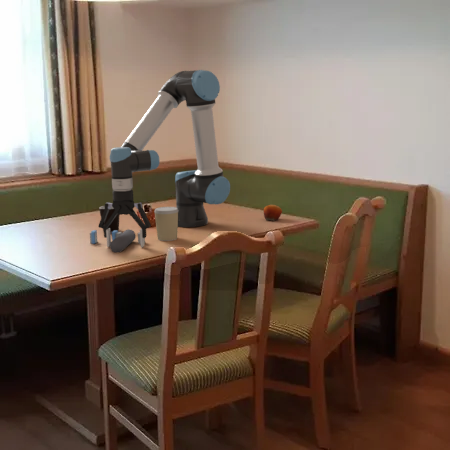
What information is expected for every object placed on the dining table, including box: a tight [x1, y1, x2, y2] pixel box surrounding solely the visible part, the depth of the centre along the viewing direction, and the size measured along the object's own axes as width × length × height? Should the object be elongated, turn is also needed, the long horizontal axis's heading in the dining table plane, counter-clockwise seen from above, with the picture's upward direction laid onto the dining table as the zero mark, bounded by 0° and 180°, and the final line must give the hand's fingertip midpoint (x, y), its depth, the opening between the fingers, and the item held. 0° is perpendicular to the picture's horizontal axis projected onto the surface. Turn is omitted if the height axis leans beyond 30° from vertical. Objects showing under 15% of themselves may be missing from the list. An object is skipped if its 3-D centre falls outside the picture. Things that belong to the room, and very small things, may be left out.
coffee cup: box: [154, 206, 179, 242], centre depth 261 cm, size 9×9×12 cm
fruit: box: [263, 204, 283, 222], centre depth 292 cm, size 8×8×8 cm
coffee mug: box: [98, 205, 120, 233], centre depth 279 cm, size 12×9×10 cm
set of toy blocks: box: [89, 229, 146, 245], centre depth 256 cm, size 21×3×5 cm, turn 82°
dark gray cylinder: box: [109, 228, 137, 253], centre depth 250 cm, size 5×17×5 cm, turn 172°
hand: (125, 246), depth 251 cm, fingers open, 12 cm apart
